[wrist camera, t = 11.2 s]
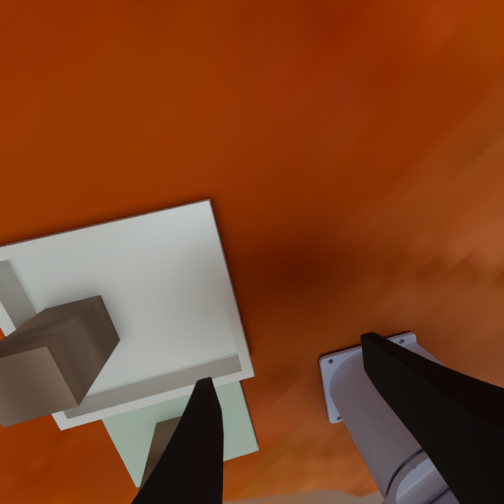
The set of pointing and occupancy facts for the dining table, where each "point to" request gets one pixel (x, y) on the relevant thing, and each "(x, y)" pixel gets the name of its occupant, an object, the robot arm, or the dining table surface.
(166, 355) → the parts tray
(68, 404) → the plain block
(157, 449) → the labelled block
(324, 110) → the dining table surface
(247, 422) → the sage mat
